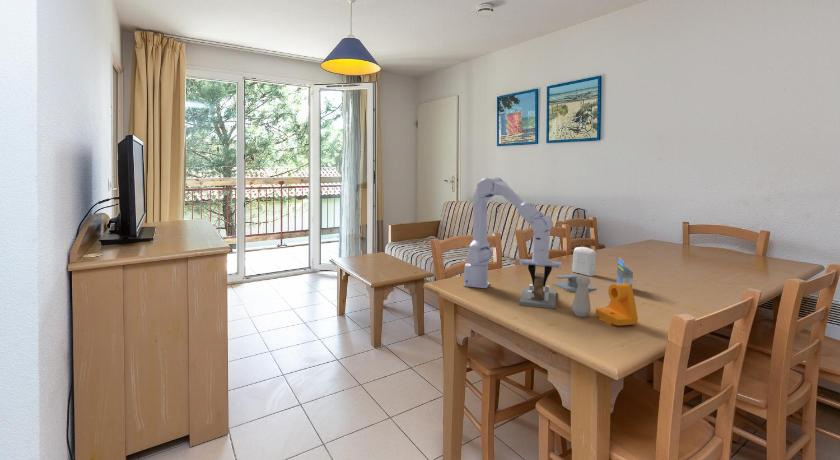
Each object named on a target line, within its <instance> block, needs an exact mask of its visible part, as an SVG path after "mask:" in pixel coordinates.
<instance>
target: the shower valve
mask: <svg viewBox="0 0 840 460" xmlns="http://www.w3.org/2000/svg"><path fill="white" fill-rule="evenodd" d="M578 276H580V275H579V274H578V273H577V274H576V273H569V274H559V275H555V276H554V278H556V279H559V280H560V279H567V281H557V282H552V285H553V286H555V287H558V288H560V289H563V290H565V291H568V292H570V293H576V290H577V286H578V284H577V283H576V278H577V277H578ZM588 290H589V291H595V290H597V288H596V287H595V286H592V285H590V284H589V285H588Z"/></svg>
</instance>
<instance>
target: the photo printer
mask: <svg viewBox="0 0 840 460" xmlns="http://www.w3.org/2000/svg"><path fill="white" fill-rule="evenodd" d="M572 253H573V254H572V255H573V256H572V268H571V271H572V273H575V274H576V273H577V274H581V275H583V276H587V277H593V276H594V275H595V270H596V257H597V253H596V250H594V249H592V248H589V247H587V246H578V247H574V249H573V252H572Z"/></svg>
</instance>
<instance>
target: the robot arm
mask: <svg viewBox="0 0 840 460" xmlns="http://www.w3.org/2000/svg"><path fill="white" fill-rule="evenodd" d="M494 196H501V197H503V198H504V199H505V200H507V201H508V202H509V203H511V205H513V206H514V207H515V208H516V209H517V214H519V216H521V218H523V219H524V221H526V222H527V223H528V224H529V225H530V228H531V230H532V232H533V235H532V236H533V237H532V259H529V258H528V259H527V258H526V259H522V258H521V259H519V266H527V268H528V271H529V274H530V277H531V281H532V284H533V287H534V280H535V275H536V267H541V268H544V271H543V273H544V282H543V288H545V285H546V284H547V281H548V278H549V276H550V274H551V273H552V269H554V268H556V269H561V268H562V262H559V261H553V260H549V259H550V257H549V256H550V238H551V237H550V236H551V230H552V229H553V226H554V221H553V220H552V218H551V217H550V216H549V215H544V214H545V213H544V212H543V211H540V210H539V209H537V208H536V207H535V203H533V202H530V201H524V200H523V199H522V197H520V196H519V195H518V194H517V193H516V192H515V191H514V190H513V189H512V188H511V187H510V186H509V184H508V183H507V182H506V181H504V180H503V178H501V177H484V178H482V179H480V180H479V181H478V182H477V183H476V189H475V192H474V194H473V198H472V200H473V202H472V204H473V205H472V210H473V211H472V213H473V214H472V215H473V216H472V218H473V219H472V222H473V223H472V241H471V242H470V244H469V245H468V252H467V253H466V258H467V261H468V262H466V263H465V265H464V270H463V287H467V288H468V287H469V288H470V287H471V288H482V289H487V288H488V287H489V286H490V283H491V282H489V281H488V277H489V262H490V260H491V259H492V254H493V253H492V250H491V246H490V245H491V244H490V243H489V241H488V238H487V237H488V236H487V235H488V221H487V220H488V201H489V200H491V199H492V198H493V197H494Z"/></svg>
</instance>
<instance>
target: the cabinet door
mask: <svg viewBox="0 0 840 460" xmlns="http://www.w3.org/2000/svg"><path fill="white" fill-rule="evenodd" d="M543 282H544V272H543V273H542V272H535V280H534V286H533V288H534V298H533V300H541V301H542V297H543V288H544V287H543Z"/></svg>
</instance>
